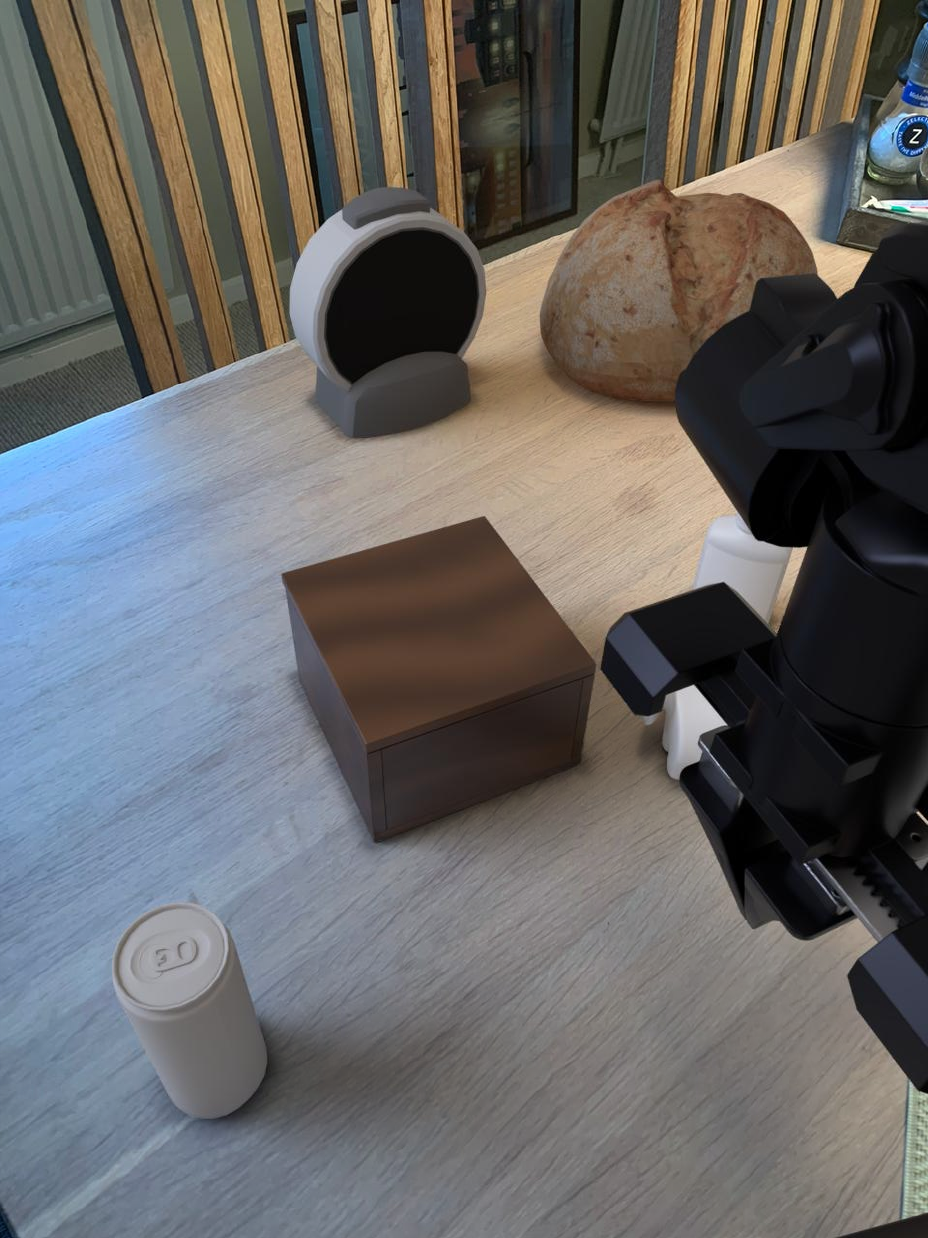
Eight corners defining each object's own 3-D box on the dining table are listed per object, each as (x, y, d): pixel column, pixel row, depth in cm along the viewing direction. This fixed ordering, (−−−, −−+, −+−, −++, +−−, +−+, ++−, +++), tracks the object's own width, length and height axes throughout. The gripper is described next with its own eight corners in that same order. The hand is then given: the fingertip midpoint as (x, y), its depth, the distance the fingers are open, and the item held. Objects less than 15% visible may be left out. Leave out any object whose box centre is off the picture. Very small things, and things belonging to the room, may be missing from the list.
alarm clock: (336, 453, 83) (318, 241, 71) (287, 395, 90) (262, 190, 77) (499, 401, 89) (509, 198, 77) (442, 350, 96) (443, 154, 83)
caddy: (299, 680, 65) (285, 589, 60) (484, 621, 70) (488, 530, 64) (374, 843, 57) (366, 754, 51) (580, 764, 61) (595, 674, 55)
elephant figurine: (729, 705, 65) (749, 642, 60) (755, 808, 59) (779, 746, 55) (625, 704, 65) (639, 640, 60) (641, 807, 59) (657, 745, 55)
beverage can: (159, 1040, 49) (101, 920, 40) (257, 1007, 50) (220, 883, 41) (175, 1139, 46) (115, 1031, 37) (279, 1101, 47) (243, 988, 38)
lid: (282, 582, 60) (280, 572, 59) (484, 524, 64) (484, 515, 64) (366, 754, 51) (365, 744, 50) (595, 673, 55) (597, 663, 55)
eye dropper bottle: (736, 653, 68) (779, 517, 59) (676, 607, 71) (709, 471, 62) (778, 626, 70) (825, 490, 61) (718, 583, 73) (755, 447, 64)
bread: (796, 305, 103) (837, 156, 93) (831, 432, 87) (885, 268, 76) (543, 288, 105) (554, 140, 94) (530, 410, 89) (542, 247, 78)
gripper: (1377, 801, 25) (1091, 1046, 36) (874, 420, 37) (774, 693, 48) (1063, 976, 22) (853, 1189, 33) (619, 495, 34) (574, 770, 45)
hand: (757, 917), depth 40 cm, fingers closed
